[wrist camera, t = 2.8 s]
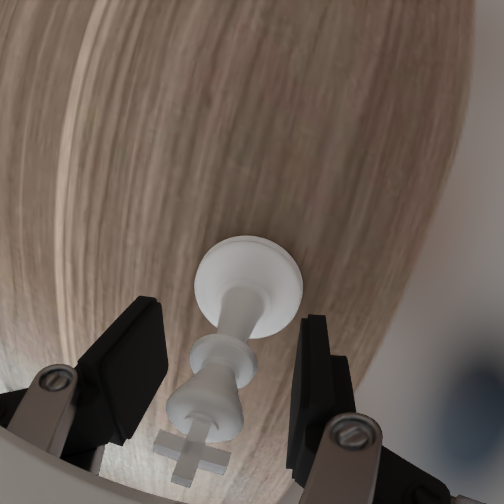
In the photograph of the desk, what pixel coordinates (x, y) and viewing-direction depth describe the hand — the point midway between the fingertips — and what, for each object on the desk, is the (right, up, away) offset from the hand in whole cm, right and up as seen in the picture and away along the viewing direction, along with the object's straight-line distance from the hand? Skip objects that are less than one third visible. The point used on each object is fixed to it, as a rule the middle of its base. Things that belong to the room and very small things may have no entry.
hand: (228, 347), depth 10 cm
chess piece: (+1, +2, +5) cm, 5 cm away
